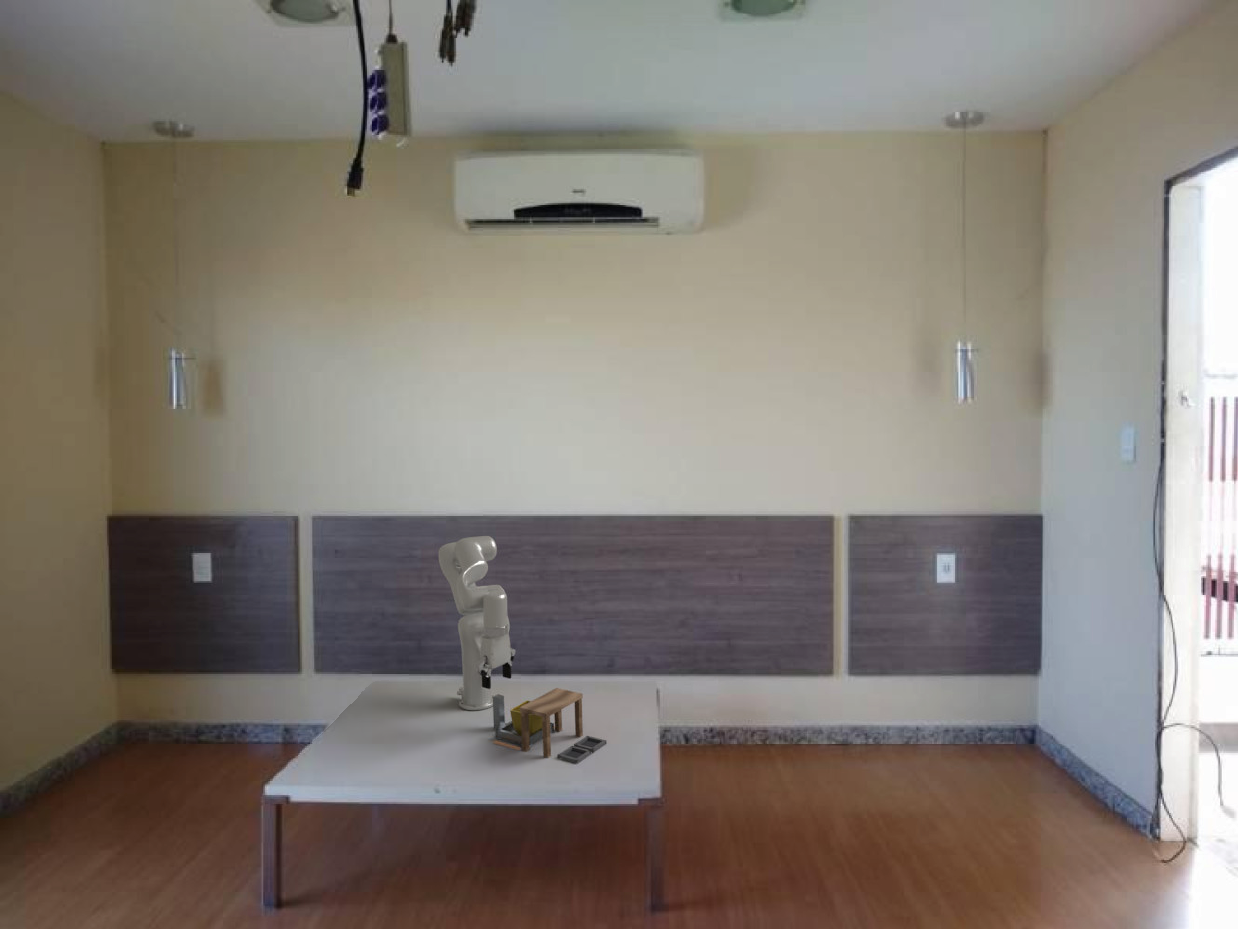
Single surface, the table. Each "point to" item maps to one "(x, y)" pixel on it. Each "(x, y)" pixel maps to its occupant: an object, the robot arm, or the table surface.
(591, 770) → the table surface
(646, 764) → the table surface
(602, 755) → the table surface
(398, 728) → the table surface
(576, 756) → the frames
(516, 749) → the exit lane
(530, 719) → the flower pot
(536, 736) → the grey tray with upright
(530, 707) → the small wooden table
